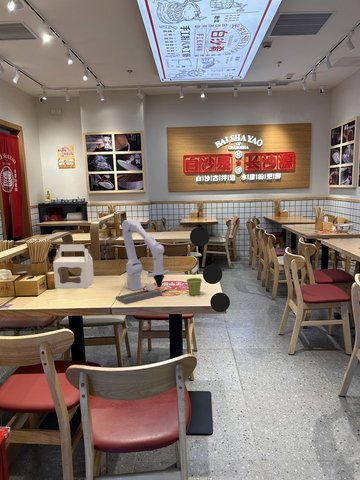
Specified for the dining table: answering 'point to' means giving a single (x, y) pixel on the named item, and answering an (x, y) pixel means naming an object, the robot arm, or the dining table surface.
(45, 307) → the dining table surface
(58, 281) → the gable box
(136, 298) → the fader console
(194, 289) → the plant pot
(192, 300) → the dining table surface
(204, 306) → the dining table surface
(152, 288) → the fader tab
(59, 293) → the dining table surface
